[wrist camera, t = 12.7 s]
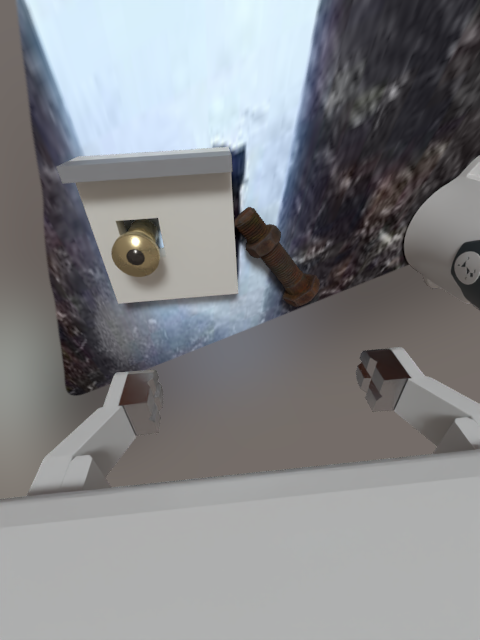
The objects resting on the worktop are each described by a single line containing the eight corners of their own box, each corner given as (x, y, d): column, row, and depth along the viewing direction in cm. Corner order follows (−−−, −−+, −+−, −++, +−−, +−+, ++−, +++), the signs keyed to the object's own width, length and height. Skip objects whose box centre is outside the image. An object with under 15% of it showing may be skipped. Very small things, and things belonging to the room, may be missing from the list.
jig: (228, 146, 34) (231, 155, 29) (236, 283, 45) (239, 305, 40) (78, 156, 34) (56, 166, 29) (123, 292, 44) (112, 316, 40)
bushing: (157, 209, 38) (150, 232, 32) (169, 246, 41) (164, 273, 35) (116, 216, 38) (103, 240, 32) (132, 253, 41) (122, 280, 36)
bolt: (244, 202, 40) (302, 278, 47) (219, 229, 39) (282, 302, 47) (267, 197, 35) (327, 283, 42) (239, 228, 34) (305, 310, 42)
